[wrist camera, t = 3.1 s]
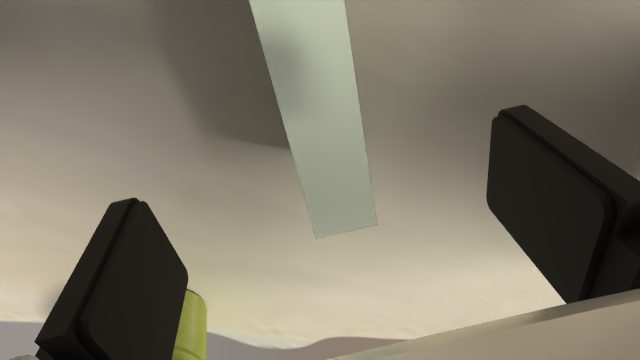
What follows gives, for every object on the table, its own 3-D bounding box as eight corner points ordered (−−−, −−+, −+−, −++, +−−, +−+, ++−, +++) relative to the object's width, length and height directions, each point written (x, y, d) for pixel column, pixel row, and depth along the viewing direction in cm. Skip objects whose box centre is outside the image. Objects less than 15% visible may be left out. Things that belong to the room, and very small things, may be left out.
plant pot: (193, 345, 41) (176, 434, 34) (107, 316, 37) (67, 409, 30) (241, 298, 38) (234, 384, 30) (152, 260, 34) (120, 350, 26)
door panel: (301, -117, 20) (322, -149, 12) (347, 141, 29) (377, 225, 21) (238, -101, 20) (214, -122, 12) (303, 151, 29) (315, 238, 21)
